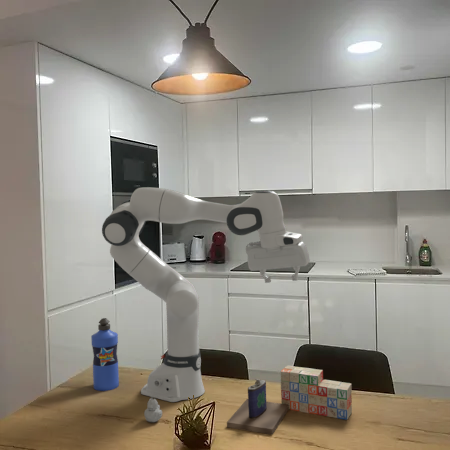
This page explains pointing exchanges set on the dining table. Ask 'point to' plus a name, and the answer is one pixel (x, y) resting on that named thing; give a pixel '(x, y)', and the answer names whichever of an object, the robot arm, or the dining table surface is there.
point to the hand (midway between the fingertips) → (281, 281)
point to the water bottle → (105, 357)
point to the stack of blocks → (315, 393)
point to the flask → (257, 399)
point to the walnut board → (258, 418)
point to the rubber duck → (153, 411)
